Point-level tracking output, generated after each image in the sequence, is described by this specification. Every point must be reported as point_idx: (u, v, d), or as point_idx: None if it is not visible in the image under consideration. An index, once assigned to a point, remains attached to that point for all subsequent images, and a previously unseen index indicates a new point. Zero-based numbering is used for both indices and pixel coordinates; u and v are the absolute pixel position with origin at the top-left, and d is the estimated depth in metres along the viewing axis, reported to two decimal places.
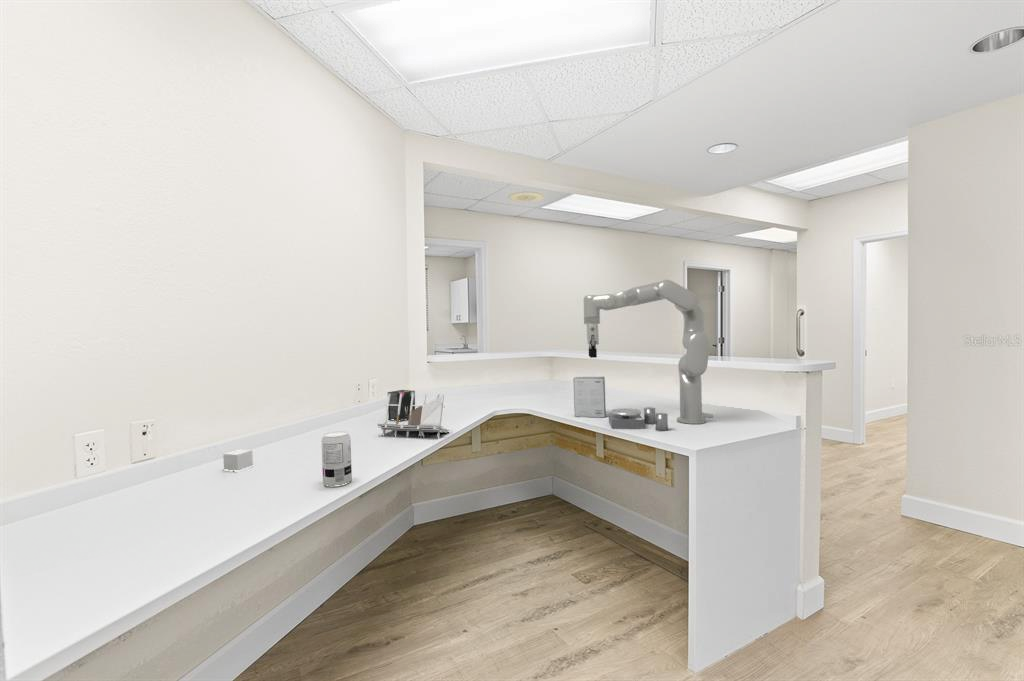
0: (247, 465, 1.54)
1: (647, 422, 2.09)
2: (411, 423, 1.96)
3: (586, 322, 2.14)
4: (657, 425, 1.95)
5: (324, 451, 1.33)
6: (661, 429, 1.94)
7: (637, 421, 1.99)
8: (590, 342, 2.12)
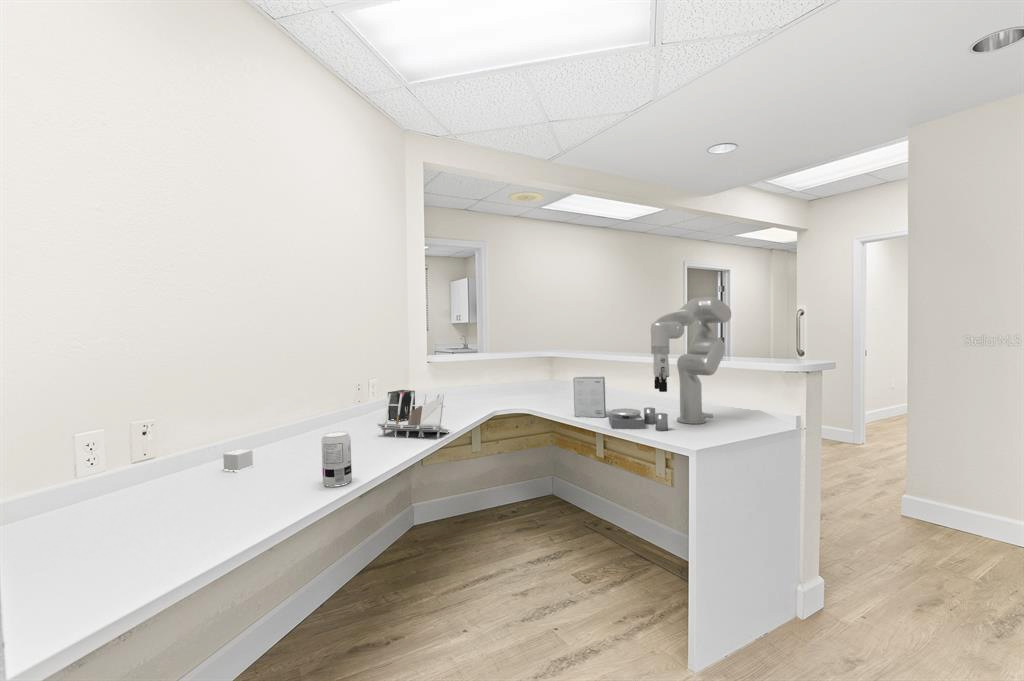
0: (247, 465, 1.54)
1: (647, 422, 2.09)
2: (411, 423, 1.96)
3: (654, 352, 1.93)
4: (657, 425, 1.95)
5: (324, 451, 1.33)
6: (661, 429, 1.94)
7: (637, 421, 1.99)
8: (659, 374, 1.91)
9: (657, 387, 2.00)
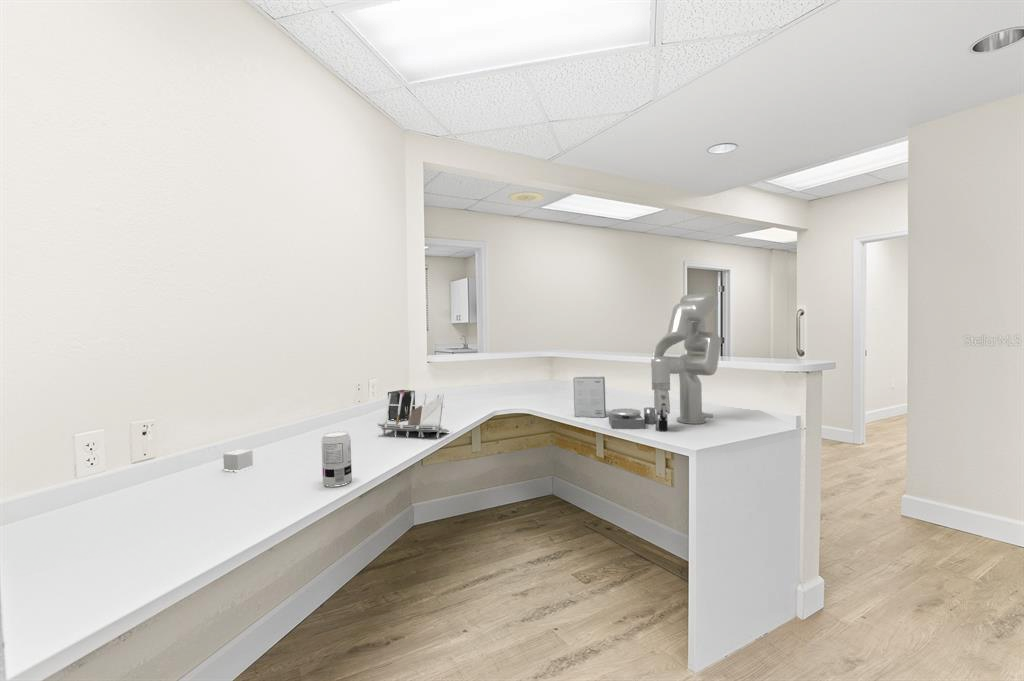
0: (247, 465, 1.54)
1: (647, 422, 2.09)
2: (411, 423, 1.96)
3: (655, 388, 1.94)
4: (657, 425, 1.95)
5: (324, 451, 1.33)
6: None
7: (637, 421, 1.99)
8: None
9: None
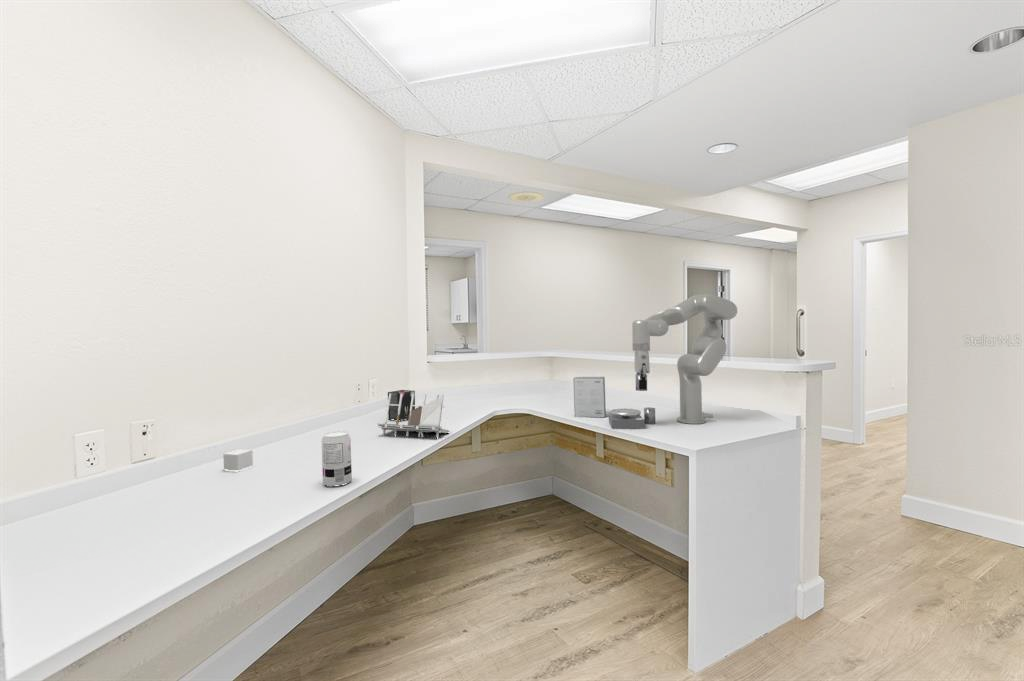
0: (247, 465, 1.54)
1: (647, 422, 2.09)
2: (411, 423, 1.96)
3: (636, 349, 2.00)
4: (637, 385, 2.02)
5: (324, 451, 1.33)
6: (641, 389, 2.00)
7: (637, 421, 1.99)
8: (640, 372, 1.99)
9: None
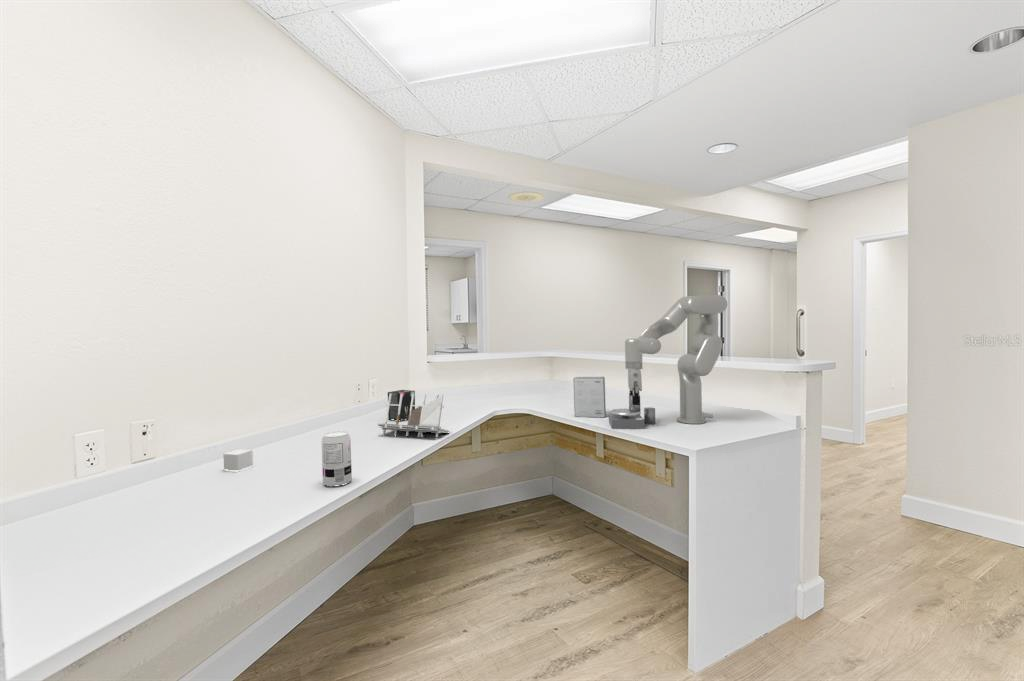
0: (247, 465, 1.54)
1: (647, 422, 2.09)
2: (411, 423, 1.96)
3: (628, 367, 2.04)
4: (630, 406, 2.05)
5: (324, 451, 1.33)
6: (634, 410, 2.04)
7: (637, 421, 1.99)
8: (633, 388, 2.02)
9: None
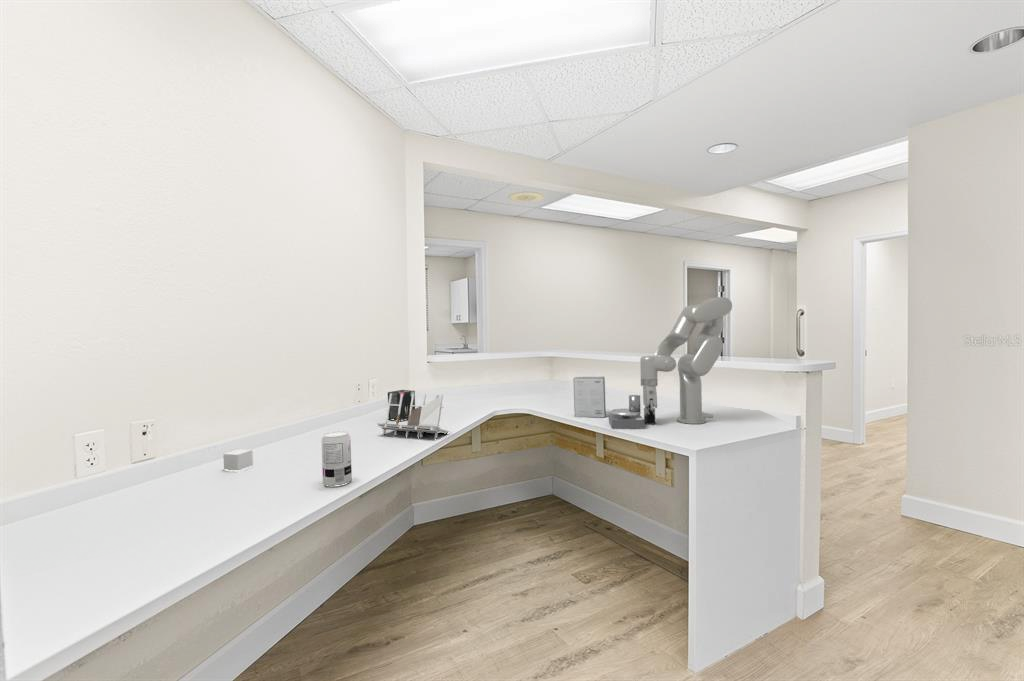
0: (247, 465, 1.54)
1: None
2: (410, 423, 1.95)
3: (644, 384, 2.08)
4: (630, 406, 2.05)
5: (324, 451, 1.33)
6: (634, 410, 2.04)
7: (637, 421, 1.99)
8: (648, 407, 2.07)
9: None
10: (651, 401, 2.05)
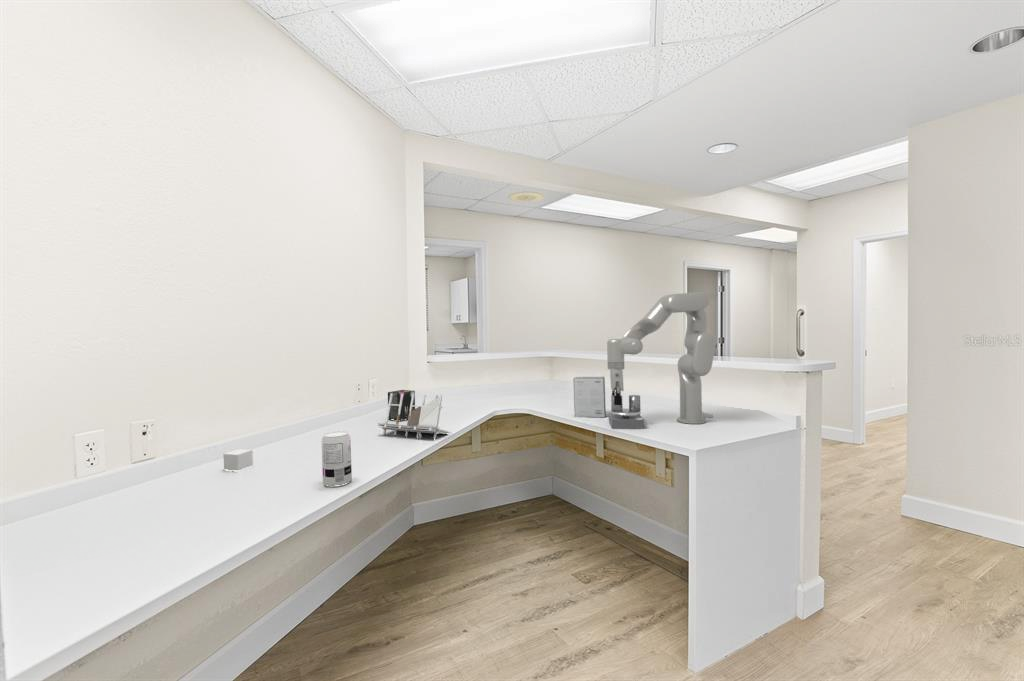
0: (247, 465, 1.54)
1: (614, 410, 2.05)
2: (410, 423, 1.95)
3: (610, 367, 2.05)
4: (630, 406, 2.05)
5: (324, 451, 1.33)
6: (634, 410, 2.04)
7: (637, 421, 1.99)
8: (614, 389, 2.03)
9: None
10: None
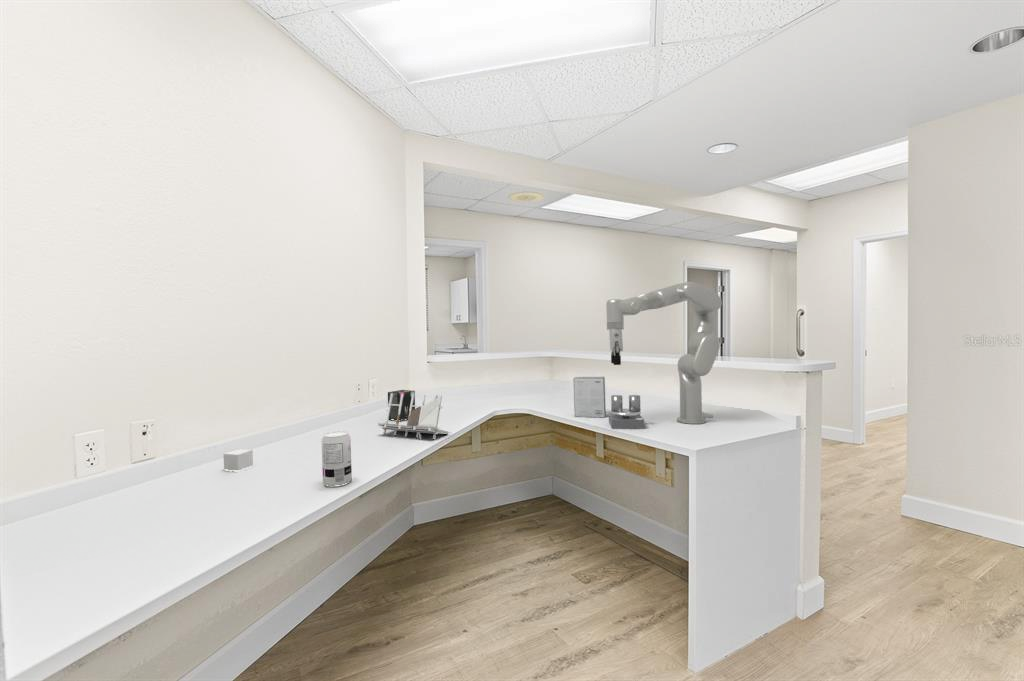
0: (247, 465, 1.54)
1: (614, 410, 2.05)
2: (410, 424, 1.95)
3: (609, 328, 2.04)
4: (630, 406, 2.05)
5: (324, 451, 1.33)
6: (634, 410, 2.04)
7: (637, 421, 1.99)
8: (614, 349, 2.02)
9: None
10: None
